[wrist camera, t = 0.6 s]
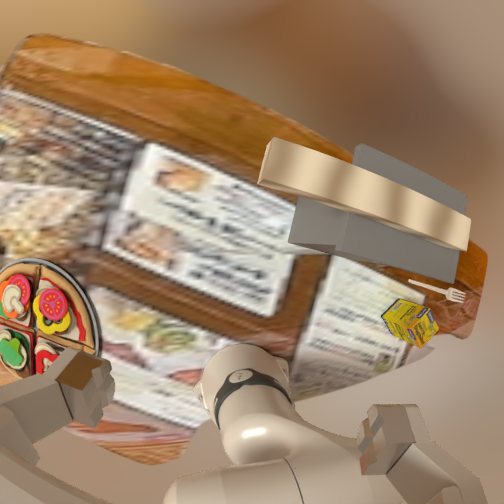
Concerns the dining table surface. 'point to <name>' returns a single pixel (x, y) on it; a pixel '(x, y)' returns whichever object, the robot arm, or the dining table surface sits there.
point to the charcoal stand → (379, 224)
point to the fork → (441, 291)
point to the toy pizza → (42, 317)
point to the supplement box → (410, 322)
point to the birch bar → (361, 193)
